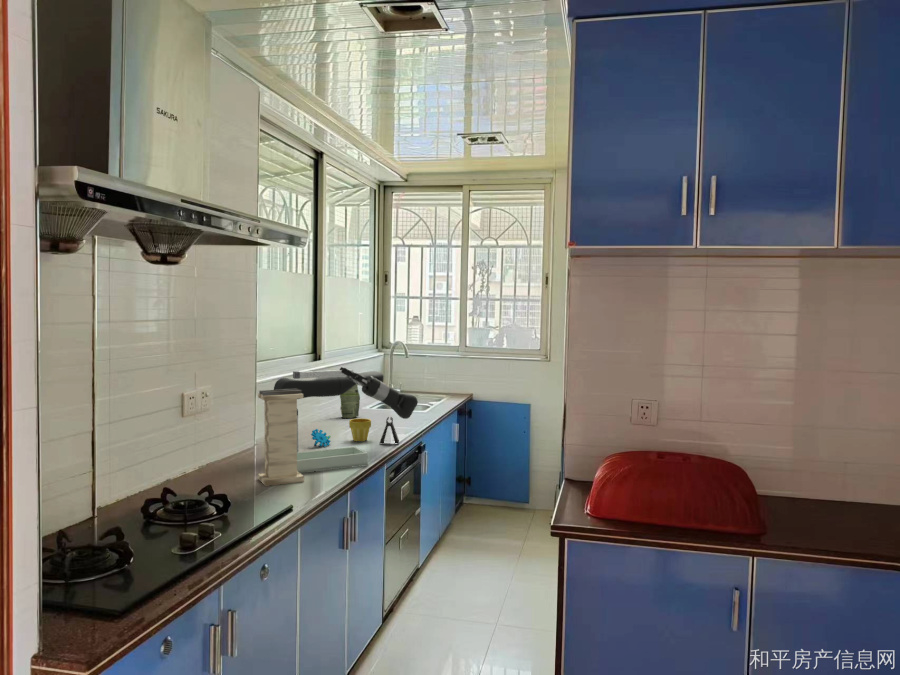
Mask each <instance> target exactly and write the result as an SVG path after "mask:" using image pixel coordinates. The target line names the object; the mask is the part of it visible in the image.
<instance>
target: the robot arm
mask: <svg viewBox="0 0 900 675" xmlns="http://www.w3.org/2000/svg"><path fill="white" fill-rule="evenodd" d="M339 370H342V371H341V372H342V373H343V374H345V375H347V376H342V377H321V378H312V379H304V380H303V379H294V378H288V377H283V378H282V377H281V378H279V379H278V380H276V382H275V383H274V386H273V390H281V389H298V390H302V394H303V398H300V399H305V398H306V399H307V398H314V397H316V398H317V397H319V398H320V397H321V398H322V397H337V396H339V397H340V395H342V394H344V393H345V392H347V391H348V390H349V389H351V388H352V387H353V386H354V385H356V384H357V385H358V386H361V392H362V393H363V394H365V395H366V396H368V397H370V398H373V399H374V400H376V401H378V402H379V401H380V402H381V403H383V404H384V405H387V406H388V407H390V408H391V409H392V410H393V412H395V413H396V414H397V416H398V417H399V418H401V419H404V420H407V419H409V418H410V417H411V416H412V414H413V413H414V411H415V410H416V407H417V406H418V398H417V397H416V396H415V395H414V394H410V393H403V392H402V393H401V392H400V391H398V390H397V389H394V388H392V387H390V386H388V385H387V384H386V383H385V382H384V374H383V373H382V372H381V371H374V370H373V371H365V372H359V373H357V372H355V371H353V372H352V373H351V371H349V370H350V369H347V368H346V367H340V368H339ZM300 399H299V400H300ZM298 452H299V409H298V408H297V453H298Z"/></svg>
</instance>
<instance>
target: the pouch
mask: <svg viewBox="0 0 900 675" xmlns="http://www.w3.org/2000/svg"><path fill="white" fill-rule="evenodd" d="M358 386H359V385H357V384H356V385H354V386H353V387H352V388H351V389H349V390H348V391H347V392H345V393H344V394H342V395H339V399H340V408H339V409H340V412H341V413H340V414H341V418H342V419H355V418H357V417H359V415H360V414H359V411H360V401H361V396H360V392H359V389H358V388H359V387H358Z"/></svg>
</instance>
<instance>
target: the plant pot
mask: <svg viewBox="0 0 900 675" xmlns="http://www.w3.org/2000/svg"><path fill="white" fill-rule="evenodd" d="M348 425H349V428H350V430H351V436H352V441H353V440H354V442H357V441H362V442H366V441H367V440H368V436H369V434H370V433H369V432H370V428H371V427H372V419H370V418H350V420H349V424H348ZM365 440H366V441H365Z"/></svg>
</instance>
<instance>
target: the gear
mask: <svg viewBox="0 0 900 675" xmlns="http://www.w3.org/2000/svg"><path fill="white" fill-rule="evenodd" d="M310 436H312V437H311V439H312V440H313V441H314V443H313V445H314V446H317V445H318V446H319V447H322V446H323V448H327V447H329V446H330V443H331V439H330V438H331V435H327V432H323V430H322V429H320V430H319V429H318V428H315V429H313V430H312V432H311V434H310Z"/></svg>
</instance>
